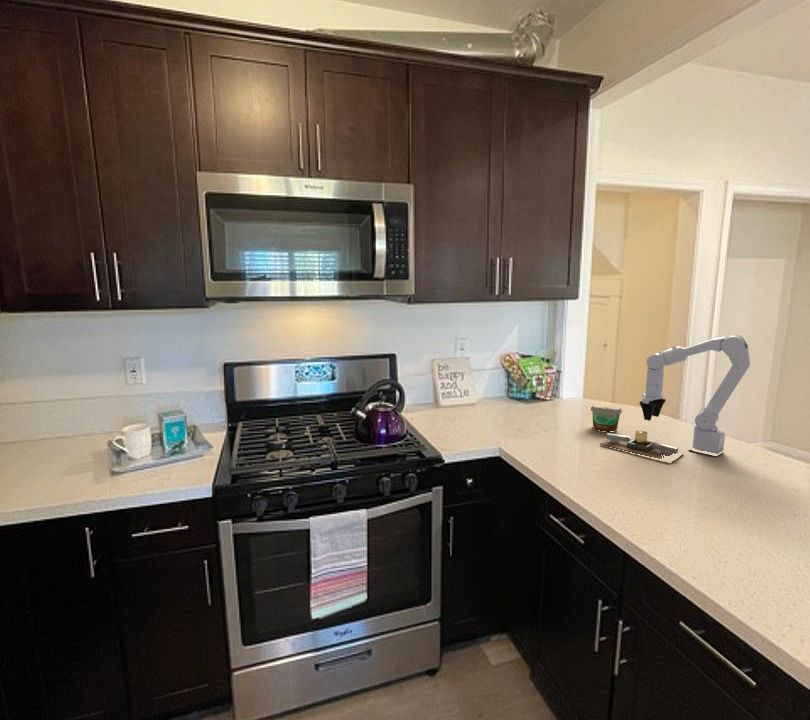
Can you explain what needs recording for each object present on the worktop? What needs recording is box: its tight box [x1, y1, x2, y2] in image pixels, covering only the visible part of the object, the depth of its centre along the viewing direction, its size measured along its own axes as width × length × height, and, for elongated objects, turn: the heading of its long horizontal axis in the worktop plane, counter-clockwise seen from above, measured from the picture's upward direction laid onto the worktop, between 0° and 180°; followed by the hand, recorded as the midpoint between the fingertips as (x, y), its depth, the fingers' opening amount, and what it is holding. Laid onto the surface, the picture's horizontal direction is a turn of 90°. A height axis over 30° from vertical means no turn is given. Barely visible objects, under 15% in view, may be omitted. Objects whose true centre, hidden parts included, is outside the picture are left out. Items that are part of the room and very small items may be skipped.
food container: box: [590, 404, 622, 433], centre depth 198 cm, size 12×6×10 cm, turn 62°
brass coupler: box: [634, 429, 649, 446], centre depth 176 cm, size 4×4×6 cm
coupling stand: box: [599, 432, 679, 459], centre depth 176 cm, size 25×13×4 cm, turn 41°
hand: (651, 418), depth 185 cm, fingers open, 7 cm apart
